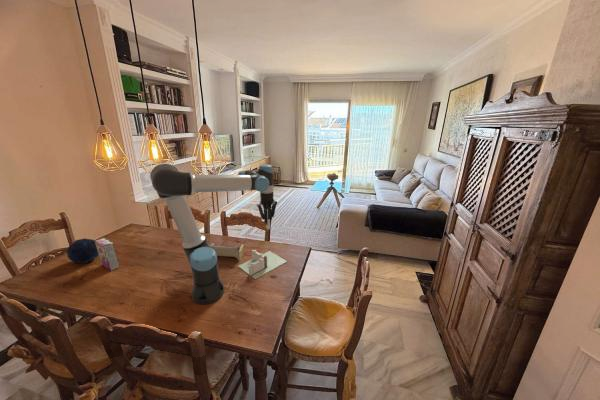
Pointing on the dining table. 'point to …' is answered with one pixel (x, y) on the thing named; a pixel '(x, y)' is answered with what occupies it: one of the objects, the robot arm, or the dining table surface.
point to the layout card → (272, 263)
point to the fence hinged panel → (256, 255)
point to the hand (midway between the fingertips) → (267, 228)
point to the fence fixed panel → (258, 265)
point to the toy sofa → (228, 250)
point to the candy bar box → (107, 254)
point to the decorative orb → (82, 251)
